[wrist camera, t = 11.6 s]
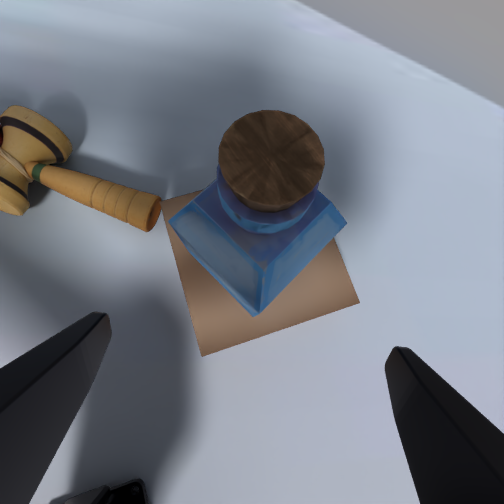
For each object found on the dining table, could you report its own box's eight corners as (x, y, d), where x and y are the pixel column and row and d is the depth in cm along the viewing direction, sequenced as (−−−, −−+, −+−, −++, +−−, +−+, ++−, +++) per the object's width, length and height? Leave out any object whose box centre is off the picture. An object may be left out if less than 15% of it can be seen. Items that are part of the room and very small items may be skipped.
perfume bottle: (315, 252, 21) (416, 158, 9) (253, 317, 19) (275, 306, 8) (252, 193, 21) (269, 37, 10) (188, 252, 20) (120, 152, 8)
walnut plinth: (342, 306, 23) (360, 302, 20) (207, 351, 22) (201, 356, 19) (294, 183, 26) (303, 162, 22) (170, 218, 24) (159, 201, 21)
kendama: (179, 178, 27) (-26, 101, 25) (167, 154, 20) (-108, 48, 19) (149, 259, 26) (-62, 186, 24) (127, 259, 20) (-159, 161, 18)
